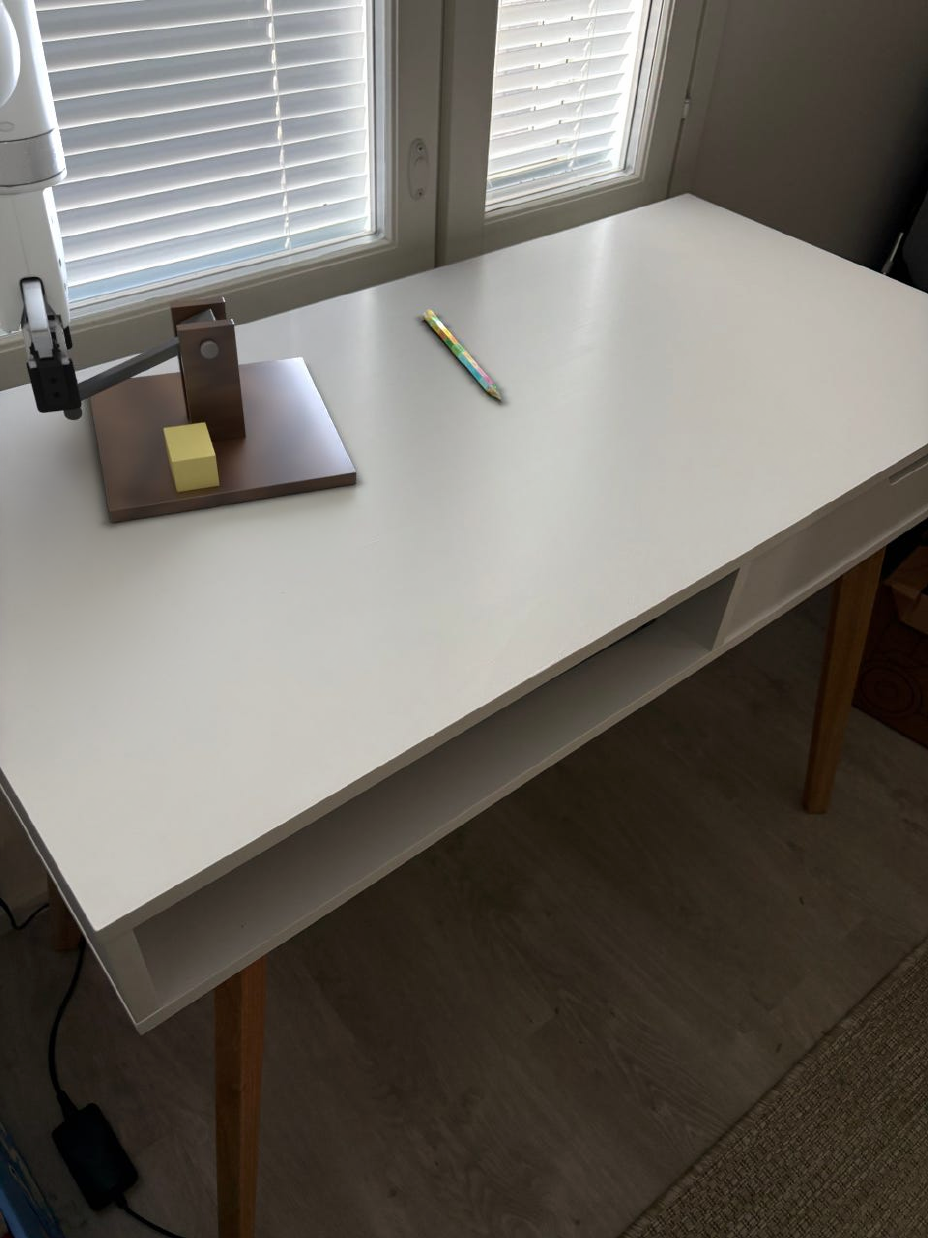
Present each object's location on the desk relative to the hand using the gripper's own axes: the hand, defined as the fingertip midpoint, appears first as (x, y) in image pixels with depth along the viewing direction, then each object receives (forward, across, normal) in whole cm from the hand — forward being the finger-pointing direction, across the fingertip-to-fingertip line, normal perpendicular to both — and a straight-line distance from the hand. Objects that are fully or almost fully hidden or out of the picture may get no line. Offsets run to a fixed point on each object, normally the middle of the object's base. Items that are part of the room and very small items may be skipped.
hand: (56, 377), depth 81 cm
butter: (+7, +6, +9) cm, 13 cm away
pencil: (+7, -9, +38) cm, 40 cm away
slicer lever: (+1, 0, +7) cm, 7 cm away
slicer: (+8, 0, +12) cm, 14 cm away
